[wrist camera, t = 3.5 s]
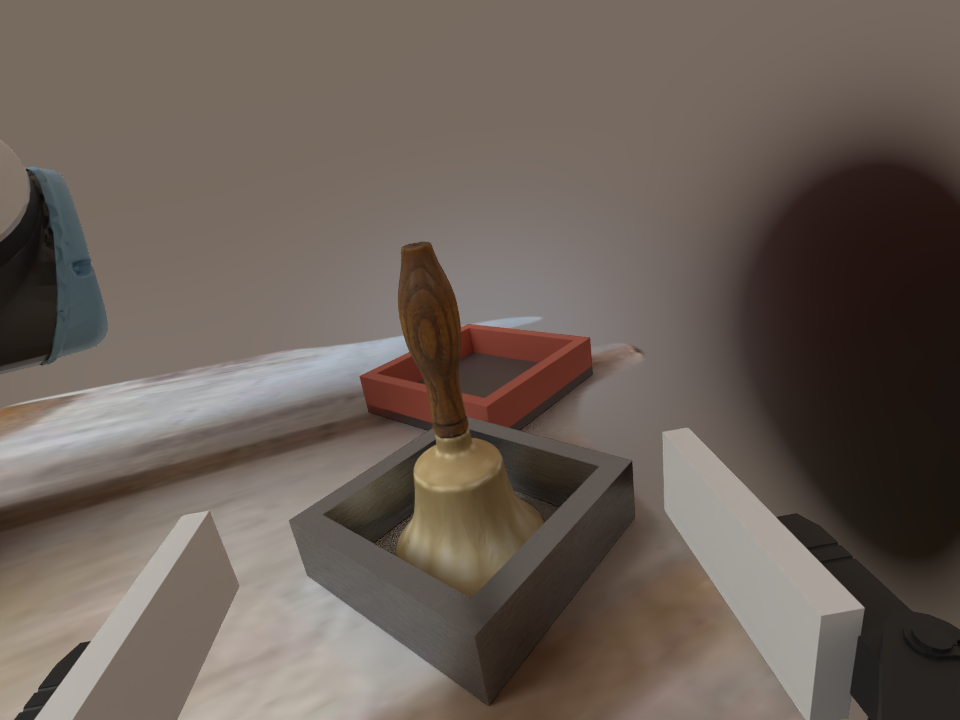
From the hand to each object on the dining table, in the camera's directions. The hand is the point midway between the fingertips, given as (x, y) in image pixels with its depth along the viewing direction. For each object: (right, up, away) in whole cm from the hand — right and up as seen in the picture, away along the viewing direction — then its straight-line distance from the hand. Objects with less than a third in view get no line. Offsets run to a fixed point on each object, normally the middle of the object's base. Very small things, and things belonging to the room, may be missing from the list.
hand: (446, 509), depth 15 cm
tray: (+1, +1, +30) cm, 30 cm away
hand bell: (+1, -6, +13) cm, 14 cm away
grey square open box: (+1, -5, +12) cm, 14 cm away
